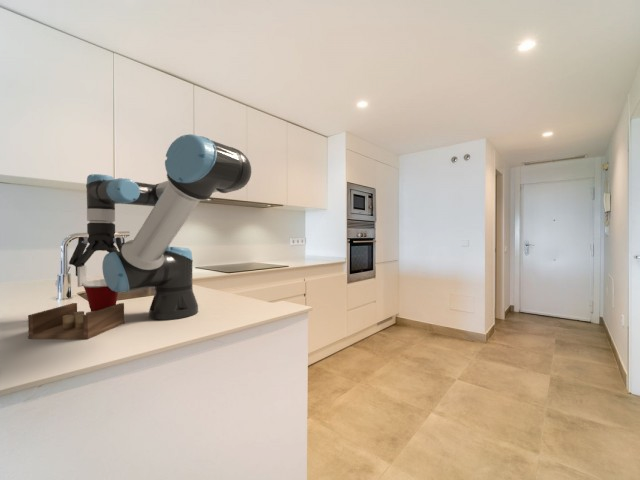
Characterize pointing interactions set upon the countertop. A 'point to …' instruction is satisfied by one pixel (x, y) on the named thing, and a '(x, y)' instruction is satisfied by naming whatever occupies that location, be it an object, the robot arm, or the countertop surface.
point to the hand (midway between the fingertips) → (102, 286)
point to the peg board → (90, 322)
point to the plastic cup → (99, 294)
